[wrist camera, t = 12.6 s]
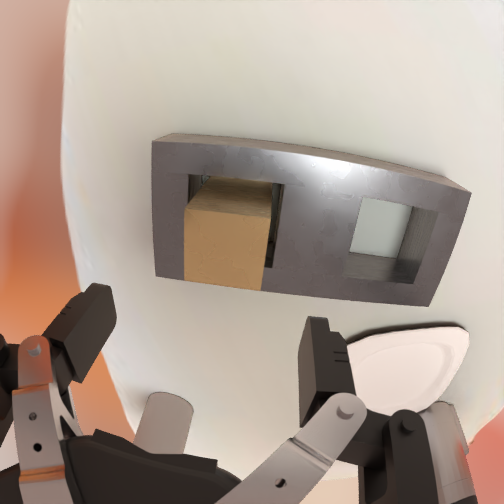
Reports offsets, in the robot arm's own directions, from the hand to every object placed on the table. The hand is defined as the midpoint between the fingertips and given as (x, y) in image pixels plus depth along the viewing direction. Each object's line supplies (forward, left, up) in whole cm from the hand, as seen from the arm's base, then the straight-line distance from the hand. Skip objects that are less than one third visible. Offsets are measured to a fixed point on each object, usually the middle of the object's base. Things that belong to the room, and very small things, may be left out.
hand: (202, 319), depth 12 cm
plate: (-20, +19, -14) cm, 31 cm away
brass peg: (0, 0, -13) cm, 13 cm away
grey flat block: (-5, 0, -13) cm, 14 cm away
